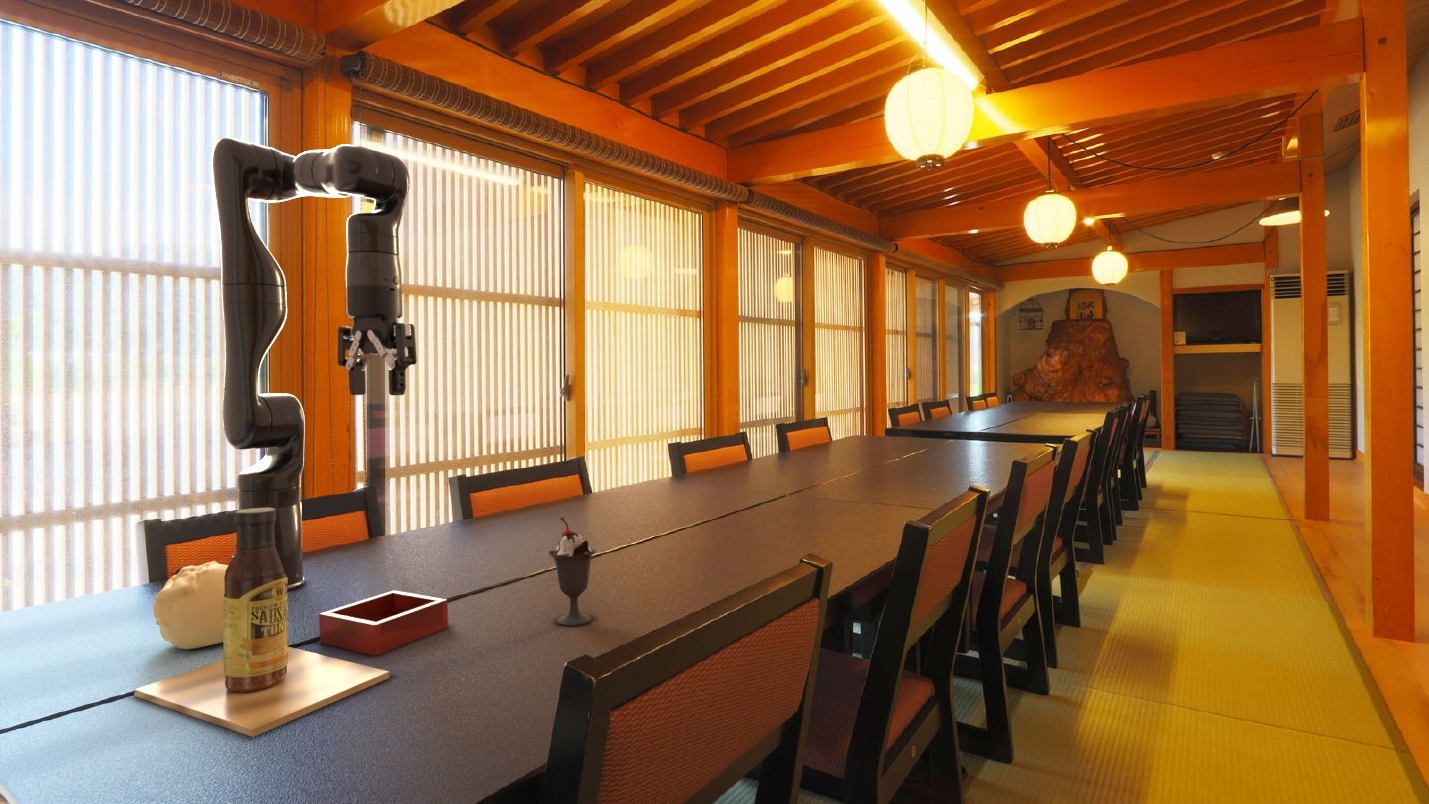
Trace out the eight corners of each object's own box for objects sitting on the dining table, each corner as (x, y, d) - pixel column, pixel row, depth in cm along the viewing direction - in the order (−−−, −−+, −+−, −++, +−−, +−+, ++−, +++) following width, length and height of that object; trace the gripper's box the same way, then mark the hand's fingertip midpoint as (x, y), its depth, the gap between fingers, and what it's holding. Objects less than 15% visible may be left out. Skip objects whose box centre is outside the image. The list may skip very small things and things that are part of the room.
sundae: (553, 614, 110) (551, 514, 109) (598, 612, 111) (597, 513, 110) (547, 629, 103) (545, 523, 103) (595, 627, 104) (593, 521, 103)
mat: (134, 696, 83) (133, 689, 83) (274, 649, 97) (274, 643, 97) (253, 737, 73) (252, 729, 73) (389, 678, 87) (389, 671, 87)
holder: (319, 643, 99) (318, 613, 99) (394, 616, 110) (393, 590, 109) (375, 656, 94) (374, 625, 94) (448, 627, 105) (447, 599, 105)
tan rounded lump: (168, 634, 103) (165, 558, 103) (267, 622, 108) (265, 549, 107) (142, 663, 92) (139, 578, 92) (253, 648, 97) (250, 567, 97)
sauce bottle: (258, 697, 80) (252, 516, 80) (210, 693, 81) (203, 514, 81) (303, 673, 87) (298, 505, 86) (257, 670, 88) (252, 504, 87)
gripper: (319, 286, 109) (322, 395, 110) (385, 279, 103) (388, 395, 103) (364, 291, 116) (366, 394, 116) (428, 285, 109) (431, 394, 110)
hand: (377, 395), depth 110 cm, fingers open, 8 cm apart
